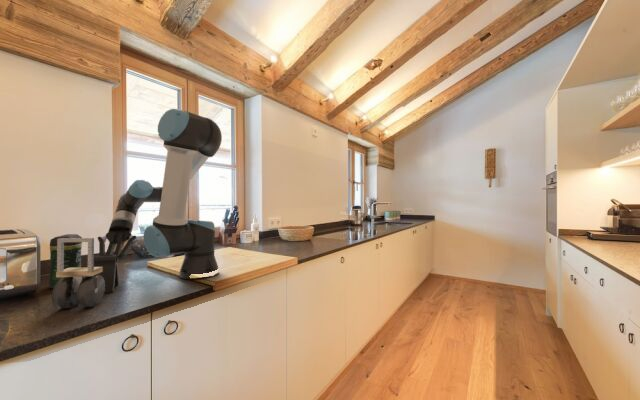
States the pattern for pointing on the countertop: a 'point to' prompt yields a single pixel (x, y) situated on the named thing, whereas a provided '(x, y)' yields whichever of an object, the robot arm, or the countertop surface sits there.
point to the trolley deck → (79, 272)
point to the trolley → (77, 281)
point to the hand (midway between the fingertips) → (106, 275)
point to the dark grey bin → (108, 271)
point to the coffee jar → (70, 256)
